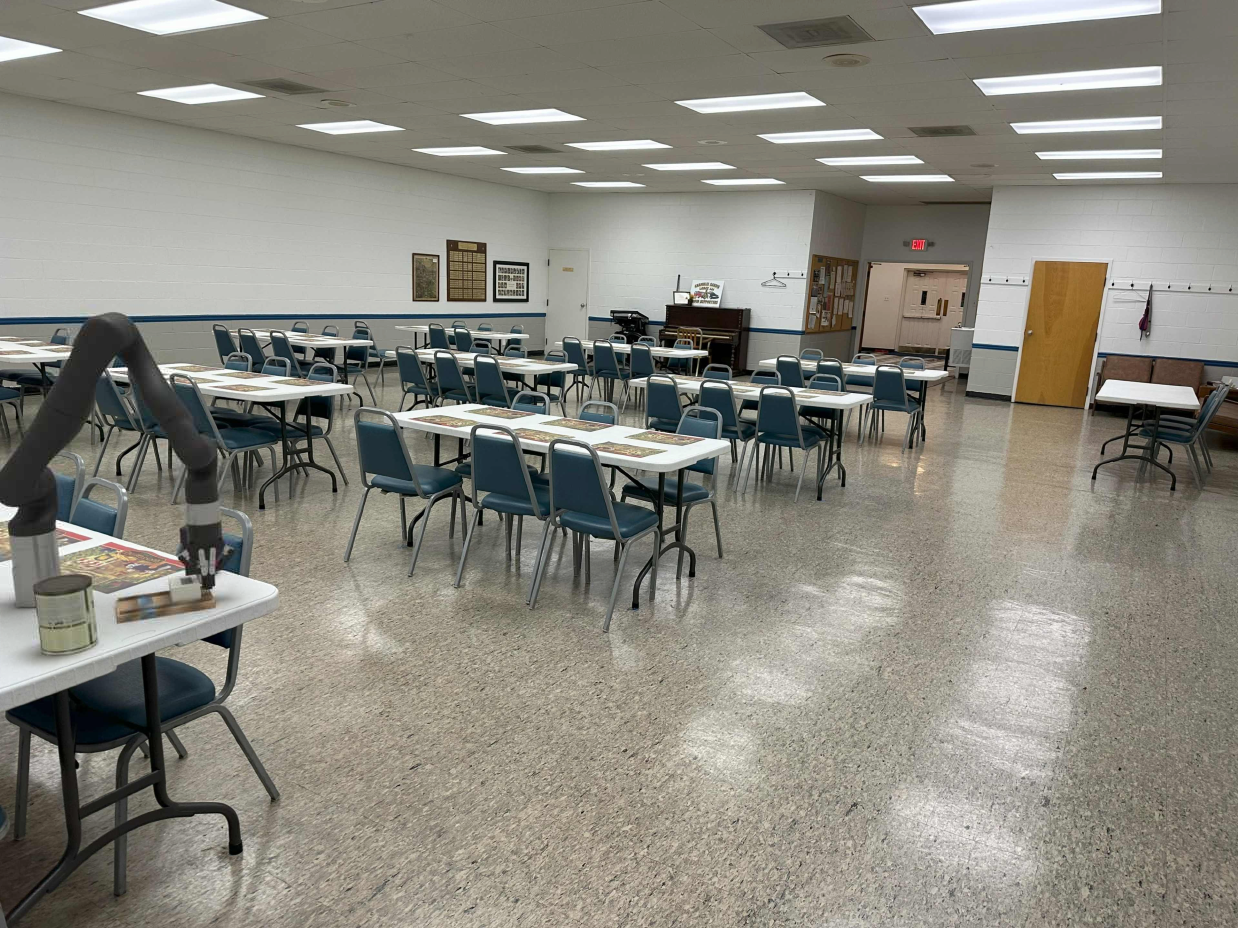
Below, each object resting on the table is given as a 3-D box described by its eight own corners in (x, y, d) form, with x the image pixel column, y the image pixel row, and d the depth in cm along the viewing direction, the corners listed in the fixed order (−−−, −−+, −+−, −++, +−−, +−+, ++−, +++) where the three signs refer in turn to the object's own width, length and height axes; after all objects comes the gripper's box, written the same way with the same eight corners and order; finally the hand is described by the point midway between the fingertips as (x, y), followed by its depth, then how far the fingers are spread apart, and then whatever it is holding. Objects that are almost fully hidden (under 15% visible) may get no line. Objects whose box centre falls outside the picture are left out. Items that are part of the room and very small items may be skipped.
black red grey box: (200, 585, 214) (196, 528, 211) (183, 584, 214) (178, 527, 211) (221, 571, 225) (217, 517, 222) (205, 570, 225) (201, 516, 222)
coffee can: (33, 646, 176) (25, 582, 173) (88, 631, 184) (81, 570, 181) (50, 660, 170) (42, 594, 167) (106, 645, 178) (100, 581, 175)
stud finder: (172, 604, 196) (171, 588, 196) (169, 594, 203) (168, 578, 202) (201, 600, 200) (200, 584, 199) (197, 590, 206) (196, 574, 205)
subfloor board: (117, 623, 189) (116, 613, 189) (115, 606, 199) (114, 596, 199) (215, 607, 200) (214, 598, 199) (209, 591, 210) (208, 583, 209)
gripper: (174, 526, 194) (180, 598, 197) (236, 519, 201) (241, 588, 204) (170, 519, 200) (176, 588, 203) (231, 512, 207) (236, 579, 210)
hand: (209, 588), depth 204 cm, fingers closed
